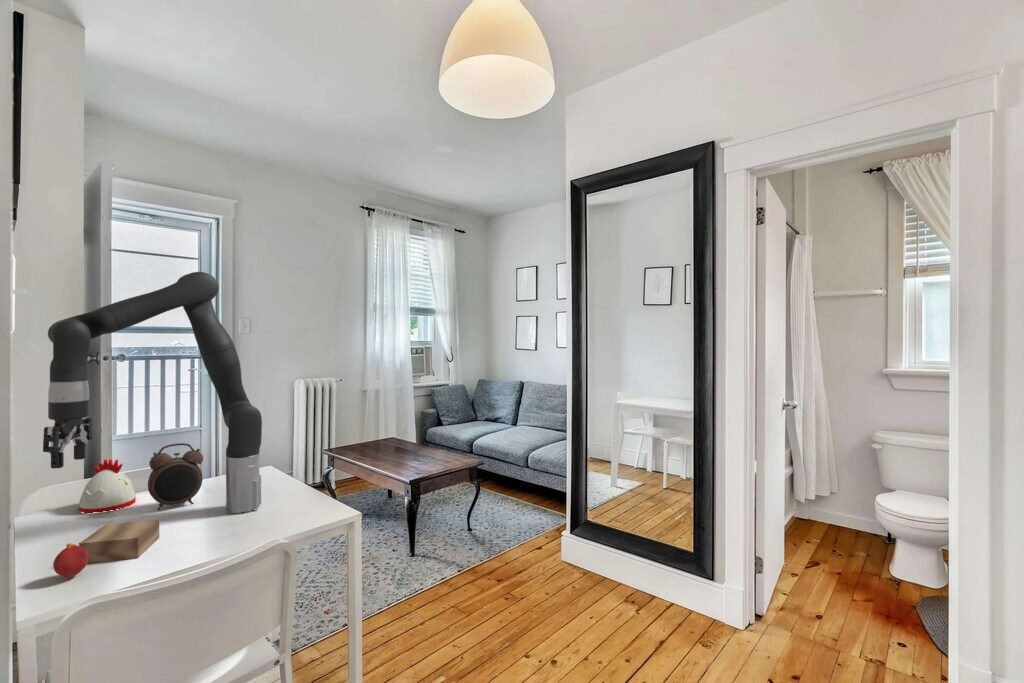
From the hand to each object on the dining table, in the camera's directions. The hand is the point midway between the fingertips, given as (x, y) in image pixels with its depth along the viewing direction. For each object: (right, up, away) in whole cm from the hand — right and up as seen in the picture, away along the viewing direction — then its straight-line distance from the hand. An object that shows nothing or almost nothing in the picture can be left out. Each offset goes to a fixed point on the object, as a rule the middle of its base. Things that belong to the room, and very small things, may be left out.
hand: (68, 463), depth 119 cm
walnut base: (+12, -23, +2) cm, 26 cm away
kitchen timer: (-18, -22, +33) cm, 43 cm away
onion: (+12, -23, -12) cm, 28 cm away
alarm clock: (+4, -22, +33) cm, 40 cm away
